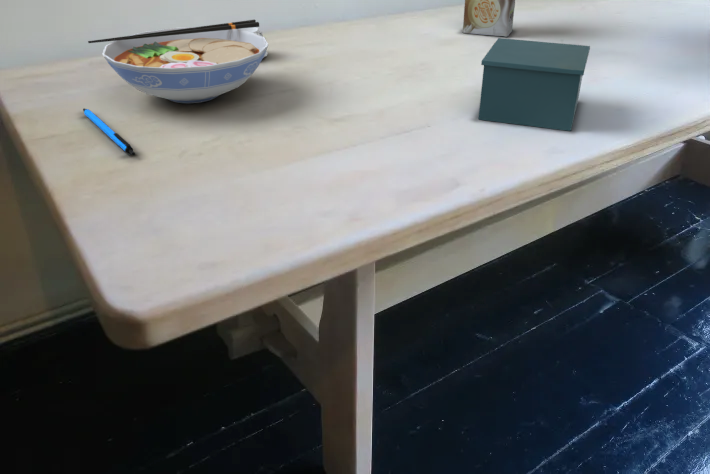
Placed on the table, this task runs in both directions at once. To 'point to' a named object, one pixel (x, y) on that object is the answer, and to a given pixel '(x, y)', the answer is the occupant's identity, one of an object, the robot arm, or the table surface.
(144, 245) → the table surface
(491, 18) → the coffee box
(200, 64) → the ramen bowl
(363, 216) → the table surface
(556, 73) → the teal box
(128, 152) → the pen
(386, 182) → the table surface
